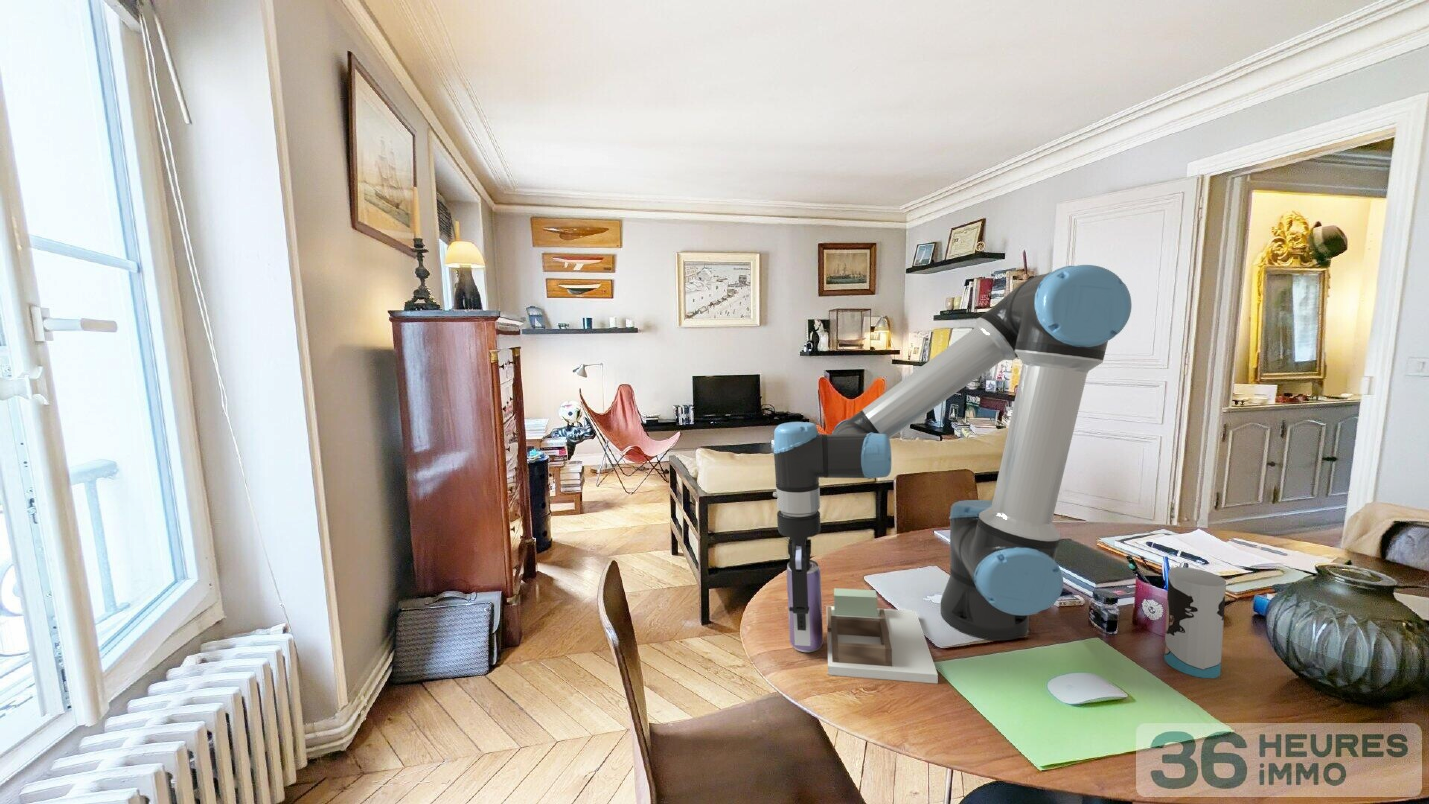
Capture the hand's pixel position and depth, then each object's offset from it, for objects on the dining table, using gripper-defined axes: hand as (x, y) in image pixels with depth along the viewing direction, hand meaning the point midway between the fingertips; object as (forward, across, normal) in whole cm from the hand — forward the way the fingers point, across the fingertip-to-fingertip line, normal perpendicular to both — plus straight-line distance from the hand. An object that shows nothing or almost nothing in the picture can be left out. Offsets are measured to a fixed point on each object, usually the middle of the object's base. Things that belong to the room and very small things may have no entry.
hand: (803, 633), depth 95 cm
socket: (+1, +2, +10) cm, 10 cm away
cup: (+3, -2, +62) cm, 62 cm away
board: (+2, -2, +13) cm, 13 cm away
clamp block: (+1, -10, +10) cm, 14 cm away
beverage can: (+2, 0, 0) cm, 2 cm away
